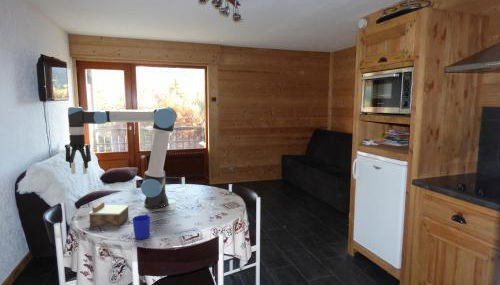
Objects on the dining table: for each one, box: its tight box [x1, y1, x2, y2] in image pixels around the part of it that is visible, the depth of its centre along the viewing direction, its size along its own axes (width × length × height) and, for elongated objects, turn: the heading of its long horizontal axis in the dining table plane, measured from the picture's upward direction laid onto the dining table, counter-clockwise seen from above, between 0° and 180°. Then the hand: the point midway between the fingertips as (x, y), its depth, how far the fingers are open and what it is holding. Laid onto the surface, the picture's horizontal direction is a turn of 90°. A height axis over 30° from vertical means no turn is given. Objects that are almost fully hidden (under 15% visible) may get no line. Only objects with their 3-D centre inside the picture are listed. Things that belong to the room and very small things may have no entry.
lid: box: [87, 201, 130, 215], centre depth 168 cm, size 17×13×3 cm
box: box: [89, 207, 130, 227], centre depth 168 cm, size 16×12×6 cm
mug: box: [132, 213, 151, 240], centre depth 151 cm, size 8×12×10 cm
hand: (79, 173), depth 175 cm, fingers open, 6 cm apart
